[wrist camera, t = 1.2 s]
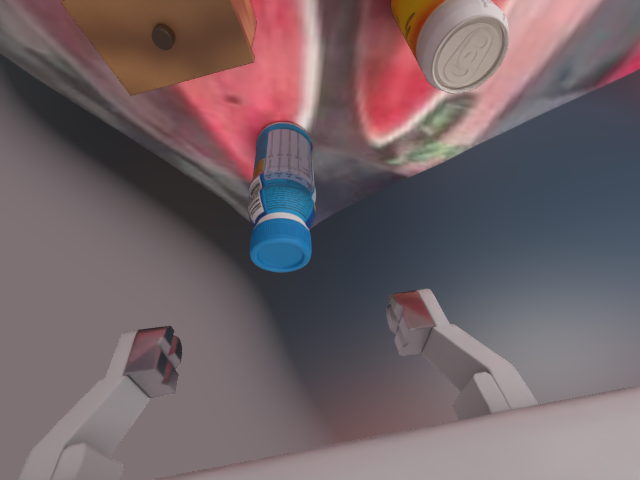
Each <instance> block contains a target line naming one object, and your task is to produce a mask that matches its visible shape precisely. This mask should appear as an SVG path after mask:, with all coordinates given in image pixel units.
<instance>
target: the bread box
mask: <svg viewBox="0 0 640 480" xmlns="http://www.w3.org/2000/svg"><path fill="white" fill-rule="evenodd" d="M61 3H62V5H63V6H64V7H65V9H66V10H67V11H68V13H69V14H70V15H71V17H72V18H73V19H74V21H75V22H76V23H77V25H78V26H79V27H80V29H81V30H82V31H83V33H84V34H85V35H86V37H87V38H88V39H89V41H90V42H91V43H92V45H93V46H94V47H95V49H96V50H97V51H98V53H99V54H100V55H101V57H102V58H103V59H104V61H105V62H106V63H107V65H108V66H109V67H110V69H111V70H112V71H113V73H114V74H115V75H116V77H117V78H118V79H119V81H120V82H121V83H122V85H123V86H124V87H125V89H126V90H127V91H128V93H129V94H130V95H131V96H132V95H136V94H140V93H143V92H147V91H151V90H154V89H158V88H162V87H165V86H169V85H173V84H176V83H180V82H183V81H187V80H191V79H194V78H198V77H202V76H205V75H209V74H213V73H216V72H220V71H224V70H227V69H231V68H235V67H238V66H242V65H246V64H249V63H253V62H254V59H255V56H254V54H253V51H252V44H253V39H254V34H255V29H256V24H257V20H256V17H255V14H254V11H253V8H252V5H251V2H250V0H63V1H61Z"/></svg>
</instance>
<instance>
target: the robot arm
mask: <svg viewBox="0 0 640 480" xmlns="http://www.w3.org/2000/svg"><path fill="white" fill-rule="evenodd" d="M389 302H390V305H389V306H388V307H387V311H386V315H387V321H388V325H389V328H390V330H391V331H392V332H393V333H395V334H396V335H395V339H394V341H395V344H396V346H397V349H398V352H399V354H400V356H404V355H412V354H419V353H422V356H424V357H425V358H426V359H427V360H428V361H429V362H430V363H431V364H432V365H433V366H434V367H435V368H436V369H437V370H438V371H439V372H440V373H442V375H444V376H445V377H446V378H447V379H448V380H449V381H450V382H451V383H452V384H453V385H454V386H455V387H456V388H457V389H458V390H459V391H460V392H461V393H460V394H459V395H458V397H457V398H456V400H455V401H454V403H453V408H454V410H455V412H456V414H457V417H458V419H459V420H457V421H451V422H447V423H441V424H436V425H431V426H426V427H420V428H415V429H410V430H405V431H400V432H395V433H389V434H384V435H379V436H374V437H369V438H363V439H358V440H353V441H348V442H343V443H337V444H332V445H327V446H322V447H317V448H312V449H307V450H301V451H297V452H291V453H286V454H280V455H276V456H270V457H265V458H260V459H255V460H250V461H245V462H240V463H234V464H229V465H224V466H219V467H213V468H208V469H203V470H198V471H192V472H187V473H182V474H177V475H172V476H166V477H162V478H156V479H151V480H640V386H636V387H628V388H622V389H617V390H612V391H607V392H602V393H597V394H591V395H587V396H581V397H576V398H571V399H566V400H560V401H555V402H550V403H545V404H540V405H539V404H538V403H537V401H536V400H535V398H534V396H533V395H532V393H531V392H530V390H529V389H528V387H527V386H526V384H525V383H524V381H523V380H522V378H521V376H520V375H519V373H518V372H517V370H516V369H515V368H514V366H513V365H512V364H510V363H509V362H507V361H506V360H504V359H503V358H502V357H500V356H499V355H497V354H496V353H494V352H493V351H492V350H490V349H489V348H487V347H486V346H484V345H483V344H481V343H480V342H478V341H477V340H476V339H474V338H473V337H471V336H470V335H469V334H467V333H466V332H464V331H463V330H461V329H460V328H458V327H457V326H456V325H454V324H453V325H450V324H449V322H448V320H447V318H446V316H445V315H444V313H443V311H442V309H441V307H440V306H439V304H438V302H437V300H436V298H435V297H434V295H433V293H432V291H431V290H429V289H423V290H418V291H415V290H414V291H408V292H402V293H395V294H391V295H390V297H389ZM173 334H174V330H173V328H172V327H171V326H165V327H157V328H149V329H142V330H133V331H126V332H123V334H122V335H121V336H120V339H119V341H118V344H117V347H116V349H115V352H114V355H113V357H112V360H111V363H110V366H109V368H108V371H107V374H106V376H105V379H100V380H99V381H98V382H97V383H96V384H95V385H94V386H93V387H92V388H91V389H90V390H89V391H88V392H87V394H85V395H84V396H83V397H82V398H81V399H80V400H79V402H77V403H76V404H75V406H73V408H72V409H71V410H70V411H69V412H68V413H67V414H66V415H65V416H64V417H63V418H62V419H61V420H60V421H59V422H58V423H57V424H56V425H55V426H54V427H53V428H52V429H51V430H50V431H49V432H48V433H47V434H46V435H45V436H44V437H43V438H42V439H41V440H40V441H39V442H38V443H37V444H36V445H35V446H34V447H33V449H31V450H30V452H29V455H28V457H27V459H26V461H25V463H24V465H23V467H22V470H21V472H20V474H19V476H18V478H17V480H121V477H122V473H123V469H124V466H123V465H122V464H121V463H120V462H118V461H117V460H114V459H113V458H111V457H110V456H111V455H112V453H113V452H114V450H115V449H116V448H117V446H118V445H119V443H120V442H121V440H122V439H123V437H124V436H125V435H126V433H127V432H128V430H129V429H130V427H131V426H132V425H133V423H134V422H135V421H136V419H137V418H138V416H139V415H140V413H141V412H142V411H143V409H144V407H145V406H146V405H147V403H148V402H149V400H150V398H153V397H158V396H163V395H169V394H174V393H175V391H176V385H177V380H178V373H177V372H176V370H175V369H176V368H177V366H178V365H179V364H180V363H181V359H182V345H181V341H180V339H179V338H178V337H176V336H174V335H173Z"/></svg>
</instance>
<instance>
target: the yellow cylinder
mask: <svg viewBox="0 0 640 480" xmlns="http://www.w3.org/2000/svg"><path fill="white" fill-rule="evenodd" d="M391 9H392V13H393V16H394V18H395V20H396V22H397V24H398V26H399V28H400V30H401V32H402V34H403V35H404V37H405V39H406V41H407V43H408V45H409V47H410V49H411V51H412V53H413V55H414V56H415V58H416V60H417V62H418V64H419V66H420V68H421V70H422V72H423V74H424V75H425V77H426V79H427V81H428V82H429V83H430V84H431V85H432V86H433V87H435V88H436V89H438V90H442V91H445V92H447V93H452V94H458V93H464V92H468V91H470V90H473V89H475V88H477V87H478V86H480V85H482V84H483V83H484V82H486V81H487V80H488V79H489V78H490V77H491V76H492V75H493V74H494V73H495V72H496V71H497V69H498V68H499V66H500V65H501V63H502V61H503V60H504V57H505V55H506V52H507V49H508V43H509V35H508V22H507V18H506V16H505V14H504V13H503V11H502V10H501V9H500V8H499V7H497V6H496V5H495V4H494V3H493V2H492V1H491V0H391Z"/></svg>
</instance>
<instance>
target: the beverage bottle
mask: <svg viewBox="0 0 640 480" xmlns="http://www.w3.org/2000/svg"><path fill="white" fill-rule="evenodd" d="M249 198H250V201H249V205H248V213H249V217H250V220H251V222H252V224H253V226H254V229H253V232H252V236H251V244H250V256H251V259H252V261H253V262H254V263H255V264H256V265H257V266H259V267H261V268H262V269H265V270H268V271H273V272H290V271H294V270H297V269H300V268H302V267H303V266H305V265H306V264H307V263H308V262H309V260H310V257H311V236H310V232H309V228H310V227H311V225H312V223H313V221H314V218H315V214H316V207H315V200H316V189H315V186H314V174H313V158H312V142H311V139H310V137H309V135H308V134H307V133H306V131H305V130H303V129H302V128H301V127H299V126H297V125H295V124H293V123H289V122H277V123H273V124H271V125H269V126H267V127H265V128H264V129H263V130H262V131H261V133H260V134H259V136H258V138H257V142H256V157H255V165H254V172H253V180H252V182H251V184H250V188H249Z"/></svg>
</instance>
